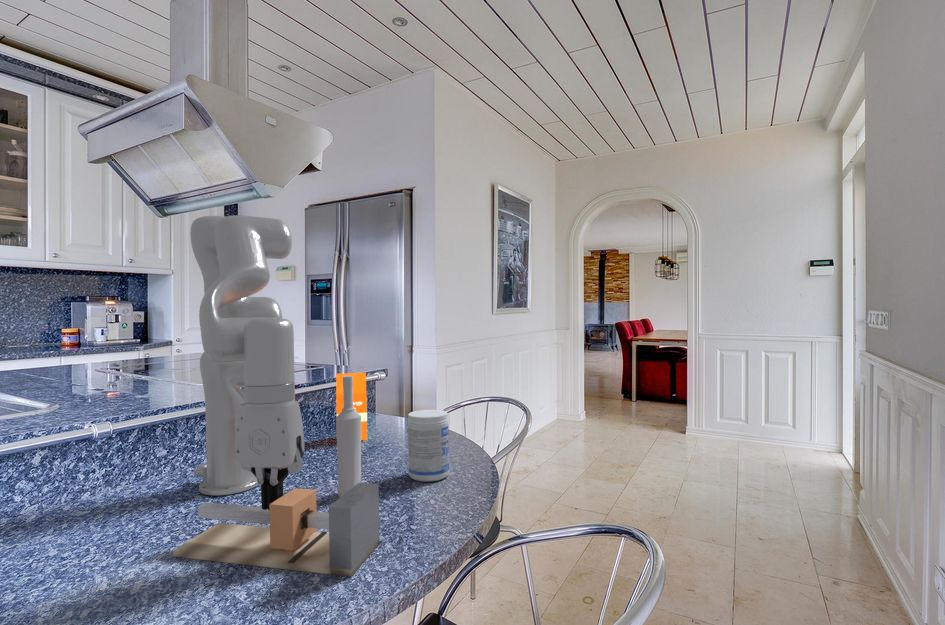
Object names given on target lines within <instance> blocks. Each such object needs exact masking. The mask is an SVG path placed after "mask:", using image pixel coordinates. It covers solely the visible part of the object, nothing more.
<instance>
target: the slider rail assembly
mask: <svg viewBox="0 0 945 625" xmlns="http://www.w3.org/2000/svg"><path fill="white" fill-rule="evenodd" d="M379 486H380V485H379V483H370V482H361V483H358V484H357V485H355V486H354V487H353V488H352V489H350V490H349V491H348V492H347V493H345V494H344V495H343V496H342V497H338V499H336V501H334V502H333V503H331V504H329V506H328V512H326V511H324V512H323V511H316V512H314V511H313V510H309V511H304V512H303V513H301V514H300V520H301V527H303V528H317V529H320V530H321V529H322V530H328V533H329V554H330V569H331V568H332V569H333V568H334V569H336V568H338V569H347V570H348V572H349V573H348V574H347V576H346V575H345V576H344V575H339V576H340V577H341V576H342V577H349V576H350V575H349V574H350V572H352V571H353V570H354V569H353V568H355V566H356V565H357V566H358V567H356V568H357V571H358V570H359V569H360V568H359V567H360V566H363V564H364V563H365V562H366V561H364V559H363V558H366V557H363V556H365V555H367V552H368V551H369V550H370V548H371V547H372V546H373V545H374V544H375V543H376V542H377V540H379V541H378V544H377V545H376V544H375V547H374V548H375V549H374V548H373V549H374V550H373V549H372V548H371V549H372V550H373V552H375V550H376V549H377V548H378V547H379V546H380V544H379V543H380V540H381V539H379V538H380V501H379V500H380V490H379ZM197 518H199V519H201V518H202V519H211V520H213V519H214V520H222V521H223V520H224V521H233V522H235V521H236V522H243V523H244V522H246V523H255V524H256V523H257V524H268V525H270V510H268V509H266V510H263V509H262V506H255V505H254V506H252V505H241V504H232V503H231V504H229V503H220V502H219V503H216V502H207V501H206V502H204V503H201V504H200V505H197ZM376 547H377V548H376ZM369 553H371V550H370V552H369ZM367 557H368V558H369V557H370V556H367ZM360 560H362V561H364V562H362V561H360ZM359 561H360V562H359ZM358 562H359V563H360V564H359V565H358ZM361 562H362V564H361ZM358 568H359V569H358ZM350 570H352V571H350ZM333 571H334V570H333ZM333 571H332V570H331V574H330V575H332V573H333ZM354 571H356V570H354ZM354 571H353V573H355V574H356V572H357V571H356V572H354ZM334 572H335V575H334V574H333V576H337V575H336V574H337V573H336V572H338V571H336V570H335V571H334ZM340 572H341V571H340ZM343 572H344V570H343ZM345 573H346V572H345ZM353 573H352V574H353ZM341 574H342V573H341ZM343 574H344V573H343ZM353 576H354V575H352V577H353ZM349 578H351V576H350V577H349Z"/></svg>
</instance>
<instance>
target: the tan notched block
mask: <svg viewBox="0 0 945 625" xmlns="http://www.w3.org/2000/svg"><path fill="white" fill-rule="evenodd" d="M269 508H270V524H269V528H270V548H276V549H285V550H294V549H295V548H297V547H298V546H299V545H300V544H301V543H302V542H304V541H305V540H306V539H307V538H308V537H310V536H311V535H312V534H313V533H314V532H318V531H317V530H318V528H303V527H301V520H300V514H301V513H303V512H304V511H309V510H313V511H314V512H317V490H316V489H306V488H295V487H294V488H293V489H292V490H290V491H288V492H286V493H285V494H283V496H282V497H280V498H279V499H277V500H276V501H274V502H272V503H271V504H269Z"/></svg>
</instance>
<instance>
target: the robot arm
mask: <svg viewBox="0 0 945 625" xmlns="http://www.w3.org/2000/svg"><path fill="white" fill-rule="evenodd" d="M189 235H190V244H191V245H190V246H191V249H192V252H193V255H194V258H195V260H196V263H197V264H198V267H199V269H200V272H201V275H202V278H203V279H202V280H203V289H204V290H203V293H204V294H203V297H202V299H201V301H200V306H199V310H198V311H199V315H198V316H199V318H198V319H199V328H200V337H201V343H202V344H201V345H202V348H203V351H204V352H202V354H201V355H200V359H199V369H200V370H199V371H200V376H201V381H202V387H203V394H204V408H205V446H206V448H205V449H206V450H205V452H206V464H199V465H198V466H197V467H196V468H197V469H195V470H194V471H193V475H194V476H195V477H202V481H201V482H200V484H199V485H198V492H200V493H201V495H202V494H203V495H205V496H206V495H207V496H217V497H218V496H227V495H228V496H229V495H233V494H239V493H242V492H245V491H248V490H251V489H253V488H256V487H258V485H260V495H261V496H260V499H261V500H260V501H261V507H262V509H263V510H266V509H268V510H270V508H269V504H271V503H272V502H274V501H276V500H277V499H279V498H280V497H282V496H283V495H284V481H285V480H287V478H288V476H289V475H293V474H297V473H299V472H301V471H302V470H303V469H304V464H303V461H302V459H304V457H305V435H304V424H303V419H302V418H303V417H302V413H301V412H302V411H301V407H300V404H299V401H297V400H296V392H295V391H296V387H295V386H296V385H295V384H296V383H295V339H294V338H295V334H294V333H295V332H294V325H293V323H292V322H291V321H290V320H289V319H287V318H283V313H282V308H281V307H280V306H281V305H280V304H279V302H277V300H276V299H275V298H274V299H273V298H272V297H267V296H257V297H256V296H252V295H254V294H256V293H259V292H261V291H262V290H263V289H264V288H265V287H267V285H268V283H270V282H269V281H270V279H271V278H270V277H271V275H270V274H271V273H270V270H269V266H268V262H267V259H272V260H273V259H274V260H275V259H276V260H278V259H279V260H284V259H287V257H288V256H289V255H290V253H291V251H292V245H293V239H292V234H291V231H290V229H289V227H288V225H287V224H286V223H285V221H283V220H282V219H278V218H271V217H264V216H263V217H262V216H251V215H239V214H238V215H235V214H233V215H227V216H224V215H223V216H222V215H207V216H199V217H197V218H195V219H194V220H193V221H192V223H191V226H190V232H189Z"/></svg>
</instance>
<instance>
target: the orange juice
mask: <svg viewBox="0 0 945 625" xmlns="http://www.w3.org/2000/svg"><path fill="white" fill-rule="evenodd" d="M366 374H367V373H366V372H349V373H347V372H346V373H336V375H335V376H336V383H335V384H336V390H335V392H336V394H335V395H336V402H335V404H336V417H337V416H338V415H339V414H340V413H341V412H342V409H343V407H344V402H343V376H353V407H354V408H355V411H356V412H357V413H359V414H360V415H361V440H367V441H368V409H367V408H368V407H367V406H368V401H367V400H368V398H367V376H366Z"/></svg>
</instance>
